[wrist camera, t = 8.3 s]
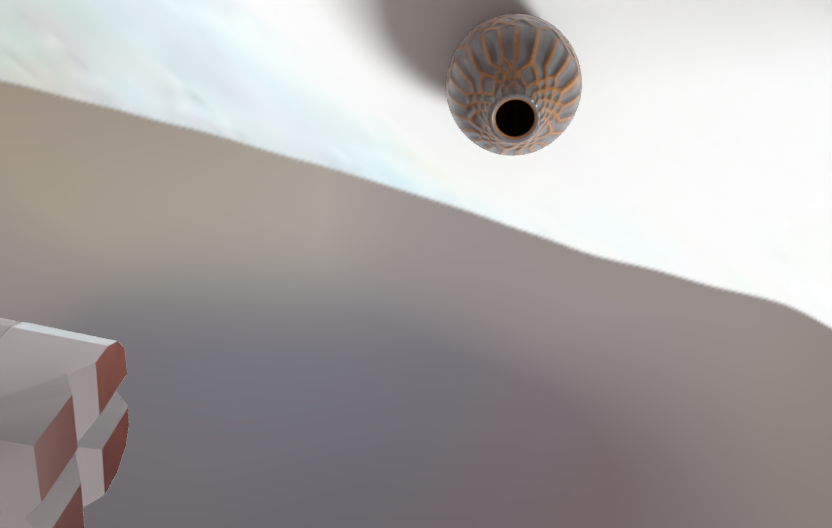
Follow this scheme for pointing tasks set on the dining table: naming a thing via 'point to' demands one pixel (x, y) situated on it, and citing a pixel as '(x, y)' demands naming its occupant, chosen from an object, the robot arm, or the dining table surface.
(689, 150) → the dining table surface
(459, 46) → the vase
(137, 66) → the dining table surface
